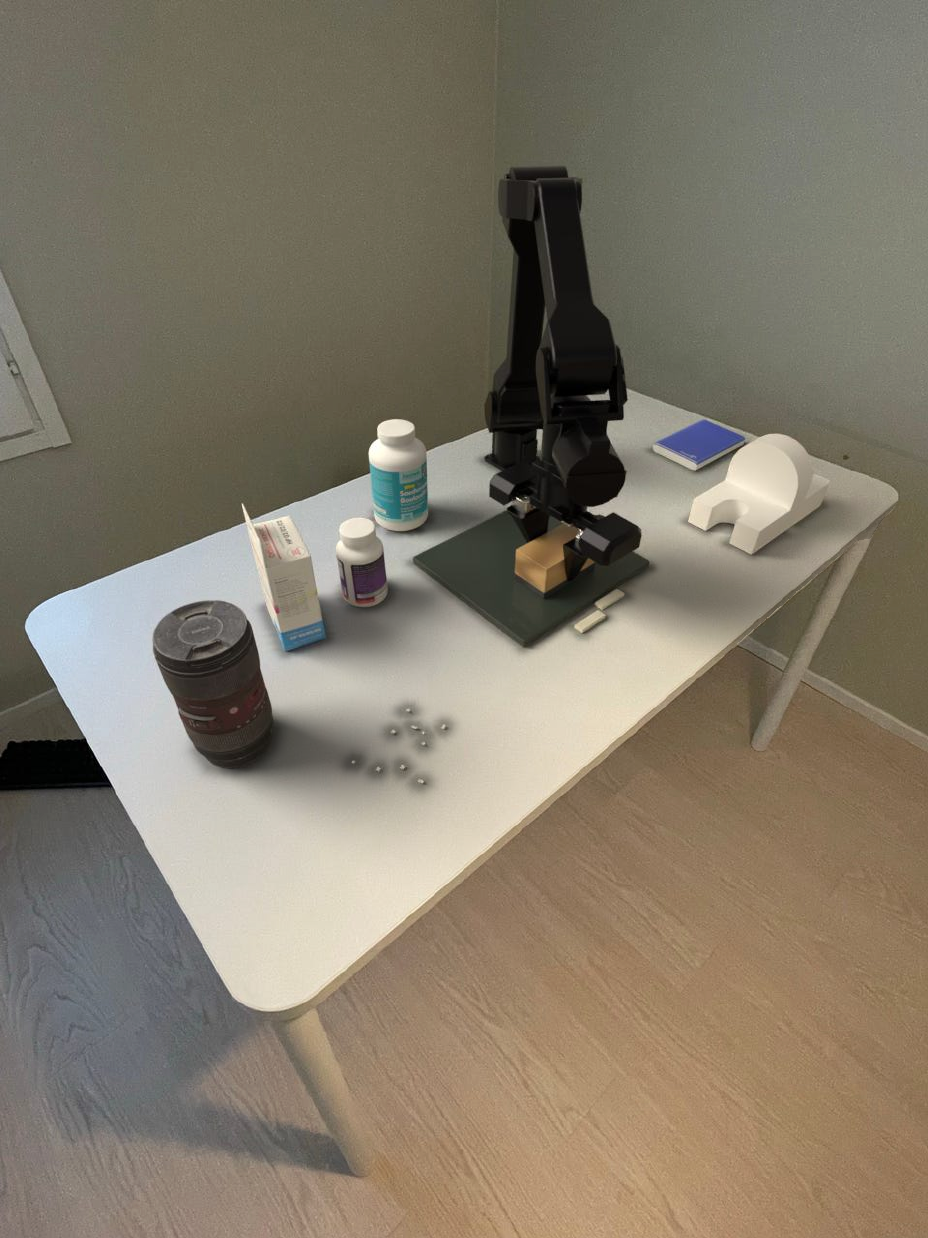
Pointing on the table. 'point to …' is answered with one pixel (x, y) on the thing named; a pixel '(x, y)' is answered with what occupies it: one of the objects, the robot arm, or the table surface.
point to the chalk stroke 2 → (609, 599)
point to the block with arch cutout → (762, 492)
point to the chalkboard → (487, 579)
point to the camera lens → (215, 680)
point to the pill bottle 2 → (398, 476)
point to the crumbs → (422, 744)
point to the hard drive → (698, 444)
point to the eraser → (546, 562)
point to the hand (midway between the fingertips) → (555, 569)
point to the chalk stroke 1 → (590, 621)
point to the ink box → (287, 581)
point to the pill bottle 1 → (361, 563)
